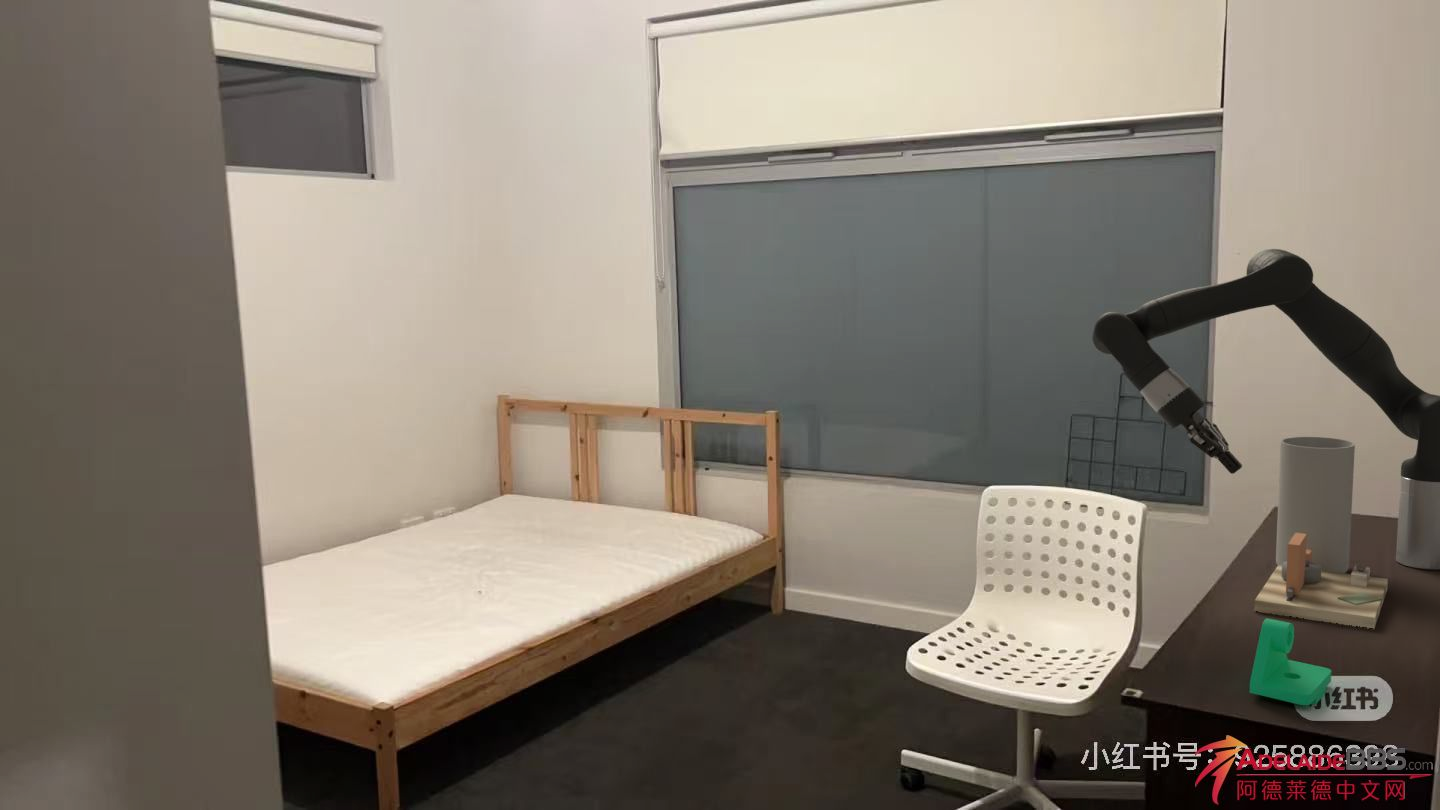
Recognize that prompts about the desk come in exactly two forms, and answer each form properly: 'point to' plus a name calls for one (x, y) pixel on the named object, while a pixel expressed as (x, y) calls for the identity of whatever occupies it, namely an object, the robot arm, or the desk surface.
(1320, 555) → the cylinder vase
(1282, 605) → the level stand
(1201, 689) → the desk surface
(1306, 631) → the desk surface
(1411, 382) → the robot arm
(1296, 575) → the orange grey panel fixture
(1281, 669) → the camera mount
